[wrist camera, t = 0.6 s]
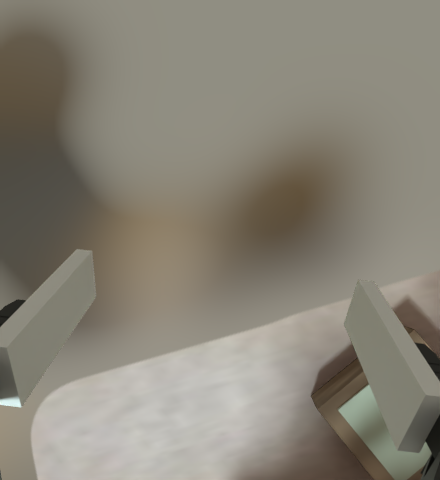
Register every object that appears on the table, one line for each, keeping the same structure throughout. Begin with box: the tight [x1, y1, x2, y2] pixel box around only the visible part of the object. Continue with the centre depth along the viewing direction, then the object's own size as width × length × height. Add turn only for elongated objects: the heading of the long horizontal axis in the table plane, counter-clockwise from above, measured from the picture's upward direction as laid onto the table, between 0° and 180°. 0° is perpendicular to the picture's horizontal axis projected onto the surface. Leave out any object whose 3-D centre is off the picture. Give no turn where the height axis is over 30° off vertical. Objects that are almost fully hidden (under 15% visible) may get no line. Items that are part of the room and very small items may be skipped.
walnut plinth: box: [311, 326, 440, 480], centre depth 44 cm, size 14×16×5 cm
